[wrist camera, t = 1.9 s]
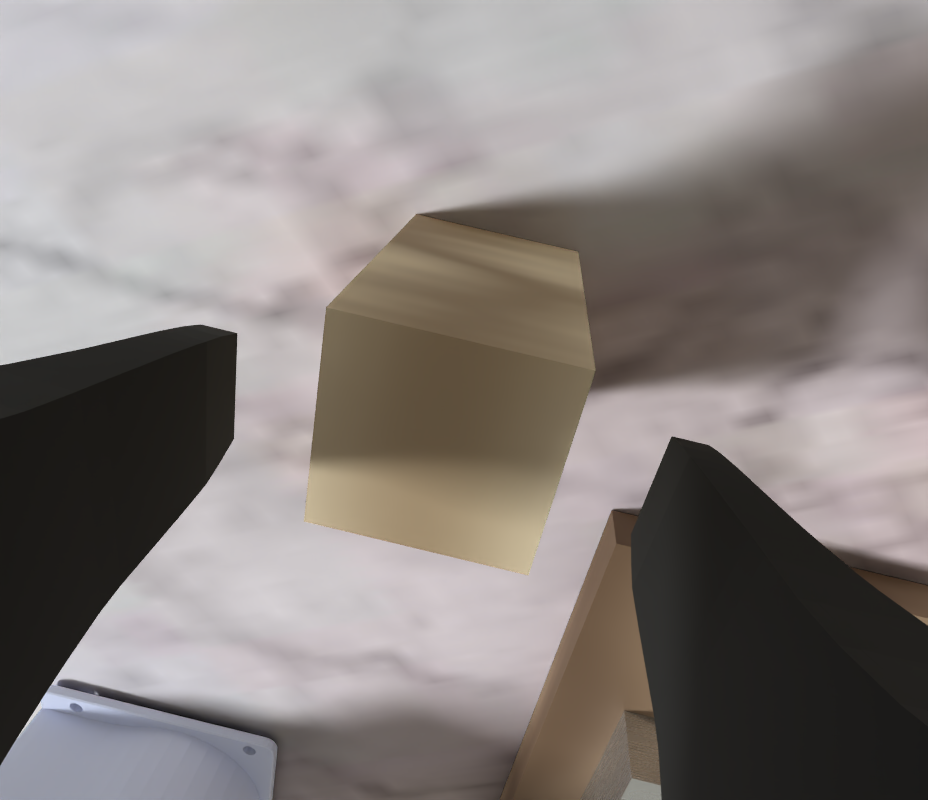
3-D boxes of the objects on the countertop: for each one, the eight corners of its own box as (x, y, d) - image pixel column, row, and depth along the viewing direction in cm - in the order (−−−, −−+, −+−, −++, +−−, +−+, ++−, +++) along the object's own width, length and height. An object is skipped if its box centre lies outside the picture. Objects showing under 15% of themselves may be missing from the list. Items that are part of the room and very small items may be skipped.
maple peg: (392, 361, 17) (304, 521, 11) (416, 213, 15) (326, 307, 9) (537, 395, 17) (528, 575, 11) (578, 251, 15) (595, 370, 9)
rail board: (472, 869, 28) (468, 909, 27) (612, 510, 19) (616, 543, 17) (742, 937, 28) (752, 980, 26) (1020, 607, 18) (1057, 649, 17)
